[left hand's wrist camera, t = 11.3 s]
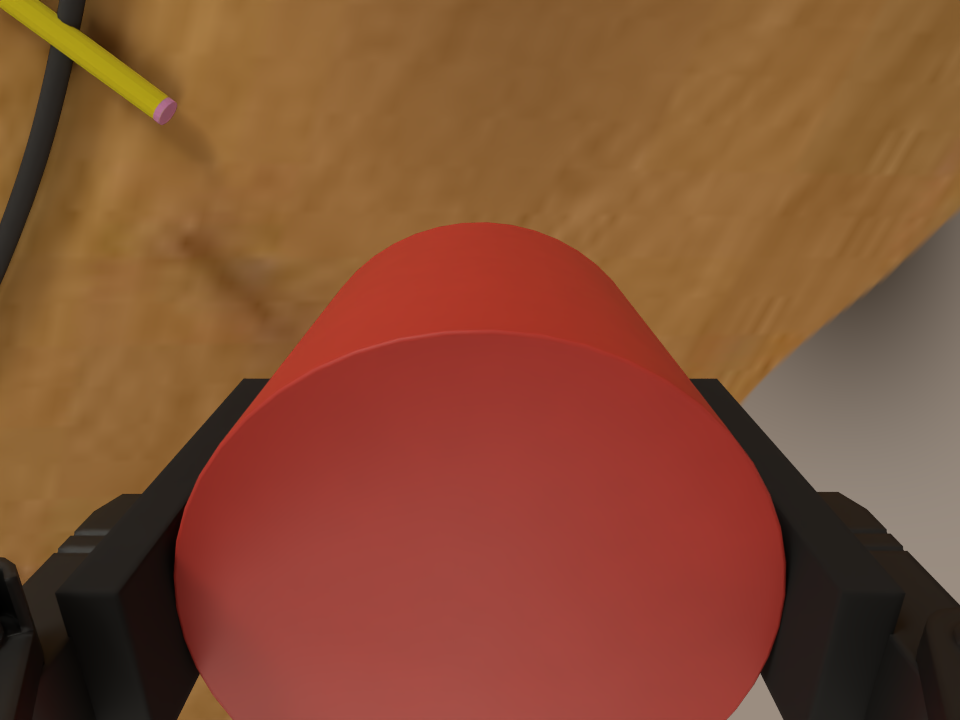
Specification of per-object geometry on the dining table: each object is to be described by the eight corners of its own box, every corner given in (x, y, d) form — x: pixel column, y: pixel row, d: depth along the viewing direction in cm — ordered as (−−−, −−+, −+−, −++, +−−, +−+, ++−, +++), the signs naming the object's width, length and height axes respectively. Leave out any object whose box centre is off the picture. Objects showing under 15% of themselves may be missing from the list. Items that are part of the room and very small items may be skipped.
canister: (649, 204, 15) (818, 298, 7) (648, 519, 18) (766, 804, 10) (279, 239, 15) (88, 362, 8) (342, 543, 18) (249, 836, 11)
